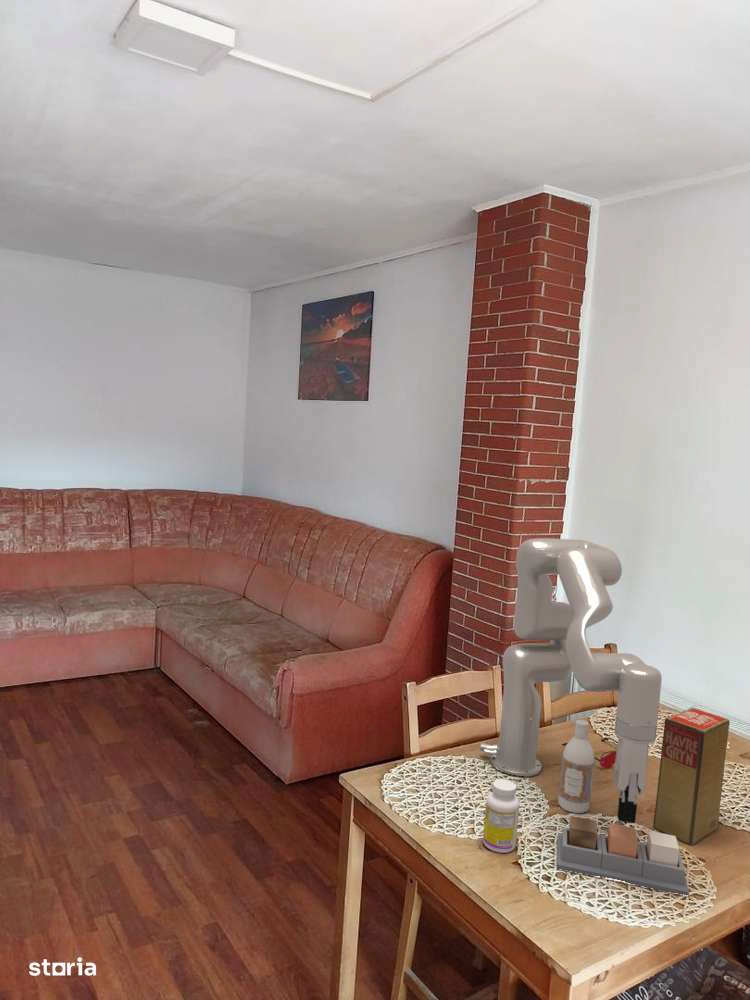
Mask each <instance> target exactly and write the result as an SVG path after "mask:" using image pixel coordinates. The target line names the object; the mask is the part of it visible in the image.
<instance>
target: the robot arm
mask: <svg viewBox="0 0 750 1000" xmlns="http://www.w3.org/2000/svg"><path fill="white" fill-rule="evenodd" d="M515 566H516V574H517V591H516V600H515V605H514V606H515V607H514V616H513V617H514V618H513V630H514V633H515V635H516V636H517V638H519V639H523V640H525V641H526V640H528V641H549V643H547V642H545V643H540V642H539V643H537V642H536V643H535V642H532V643H529V642H528V643H516V644H513V645H510V646H508V647H507V648H506V649H505V650H504V652H503V656H502V669H503V670H502V671H503V697H502V705H501V706H502V707H501V715H500V716H501V718H500V727H499V736H498V737H499V738H498V741H497V743H493V744H489V743H485V742H481V743H480V751H481V752H483V755H485V756H486V755H487V756H491V757H490V763H492V764H493V765H494V766H495V767H497V768H498V769H500V770H502V771H504V772H506V773H509V774H513V775H519V776H524V777H523V778H525V777H527V778H529V777H535V776H537V775H538V774H540V773H541V771H542V763H541V762H540V761H539V760H538V759H537V750H538V743H539V742H538V741H539V731H540V722H541V721H540V720H541V713H542V698H541V695H540V693H539V692H538V690H537V689H536V686H535V684H536V683H555V682H557V683H559V682H563V681H564V682H565V680H567V679H568V678H569V677H570V676H571V673H572V674H573V677H574V679H575V681H576V683H577V684H578V686H579V687H580V688H581V689H583V690H585V691H587V692H591V693H593V692H594V693H596V692H597V693H598V692H600V693H603V692H605V693H606V692H618V693H617V694H618V695H617V704H616V714H615V715H616V716H615V725H614V735H615V736H616V737H617V738H618V739H617V742H618V743H616V744H617V746H616V751H617V752H616V759H615V763H614V767H613V768H614V769H613V777H614V778H613V779H614V783H615V788H616V790H617V791H618V792H619V793H620V794H619V795H620V797H618V804H617V805H618V806H617V820H618V821H619V822H623V823H629V824H635V823H636V817H637V810H638V796H639V795H642V794H644V790H645V784H646V775H647V767H648V755H649V747H650V744H653V743H655V742H656V738H657V730H658V729H657V728H658V727H657V726H658V719H659V709H660V700H661V699H660V698H661V689H662V678H663V677H662V673H661V672H660V670H659V669H657V668H656V667H653V666H651V665H648V664H646V663H645V662H644V661H643V660H642V659H641V658H640V657H639V656H637V655H635V654H632V653H627V652H626V653H625V652H622V653H621V652H620V653H617V652H616V653H615V652H609V653H608V652H607V653H606V652H604V653H602V652H601V653H600V652H599V653H592V651H591V648H590V646H589V643H588V640H587V636H586V635H587V633H586V631H587V628H590V627H591V626H595V625H596V624H597V623H598V624H599V623H600V622H602V621H604V620H605V619H606V618H607V617H609V615H611V613H612V612H613V610H614V605H613V601H612V600H611V597H610V595H609V592H608V591H607V588H606V587H607V586H614V585H615V584H617V583H618V582H619V581H620V579H621V578H622V574H623V573H622V571H623V568H622V567H623V566H622V564H621V560H620V558H619V556H618V555H617V554H616V553H615V552H614V551H613V550H611V549H610V548H608V547H605V546H602V545H600V544H597V543H594V542H591V541H588V540H582V539H566V538H551V537H550V538H549V537H548V538H547V537H545V538H544V537H542V538H541V537H539V538H538V537H537V538H530V539H527V540H524V541H523V542H522V543H520V545H519V547H518V549H517V552H516V556H515ZM550 575H558V577H559V580H560V581H561V585H562V587H563V590H564V593H565V596H566V598H567V601H568V603H567V602H563V601H552V599H553V591H554V588H553V587H554V586H553V583H552V580H551V578H550ZM492 764H491V765H492ZM493 765H492V766H493ZM506 773H505V774H506ZM509 774H508V775H509ZM513 775H512V776H513ZM519 776H518V777H519ZM638 794H639V795H638Z"/></svg>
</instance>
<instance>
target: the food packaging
mask: <svg viewBox="0 0 750 1000" xmlns="http://www.w3.org/2000/svg"><path fill="white" fill-rule="evenodd" d="M729 728H730V719H729V718H726V717H724V716H721V715H716V714H715V713H710V712H707V711H705V710H702V709H699V708H695V707H690V708H688V709H686V710H682V711H680V712H679V713H676V714H673V715H672V716H669V717H666V718H664V726H663V737H662V745H661V752H660V753H661V754H660V764H659V771H658V782H657V790H656V791H657V792H656V800H655V809H654V815H653V822H652V823H653V825H652V829H654V830H656V831H658V832H659V833H663V834H668V835H673V836H676V839H677V841H679V842H681V843H684V844H685V845H688V846H693V845H695V844H697V843H698V842H700V841H701V840H703V839H704V838H706V837H707V836H709V835H711V834H713V832H716V831H717V830H719V817H720V810H721V802H722V801H721V800H722V791H723V783H724V775H725V774H724V773H725V765H726V764H725V763H726V755H727V746H728V737H729Z"/></svg>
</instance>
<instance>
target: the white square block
mask: <svg viewBox="0 0 750 1000" xmlns="http://www.w3.org/2000/svg"><path fill="white" fill-rule="evenodd" d="M647 832H648V835H647V842H646V844H647V849H646V850H647V855H648V860H649V861H651V862H656V863H661V864H666V865H671V866H676V867H677V864H678V856H679V851H680V846H679V844H678V840H677V839H676V836H673V835H668V834H664V833H662V832H659V831H658V832H657V831H651V830H648V831H647Z"/></svg>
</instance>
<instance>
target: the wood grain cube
mask: <svg viewBox="0 0 750 1000" xmlns="http://www.w3.org/2000/svg"><path fill="white" fill-rule="evenodd" d="M568 828H569V845H572V846H577V847H582V848H587V849H592V850H596V841H597V834H598V825H597V820H595V819H590V818H586V817H585V818H584V817H581V816H579V817H578V816H576V815H575V816H574V815H570V819H569V827H568Z"/></svg>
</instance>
